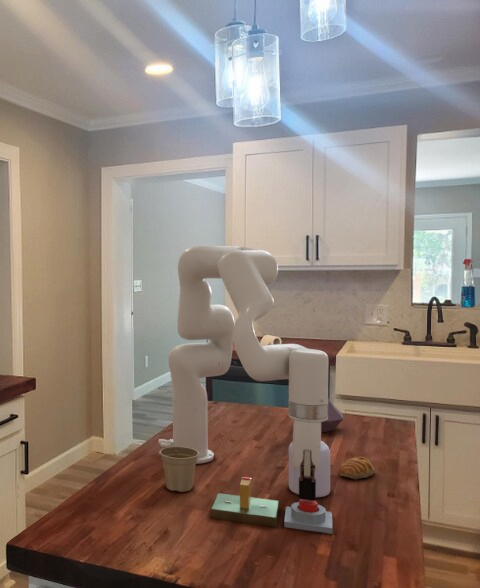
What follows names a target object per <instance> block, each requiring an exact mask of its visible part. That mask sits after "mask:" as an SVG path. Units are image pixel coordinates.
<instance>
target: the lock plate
mask: <svg viewBox="0 0 480 588" xmlns="http://www.w3.org/2000/svg"><path fill="white" fill-rule="evenodd" d="M279 510H280V501H279V500H276V499H269V498H259V497H252V496H251V503H250V506H249V509H245V508H240V495H235V494H228V493H219V492H218V493H217V494H216V496H215V499H214V502H213V504H212V506H211V510H210V511H211V512H210V514H211V516H210V517H211V519H217V520H225V521H231V522H238V523H246V524H252V525H259V526H267V527H273V528H276V527H277V524H278V518H279V513H280V512H279Z"/></svg>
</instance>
